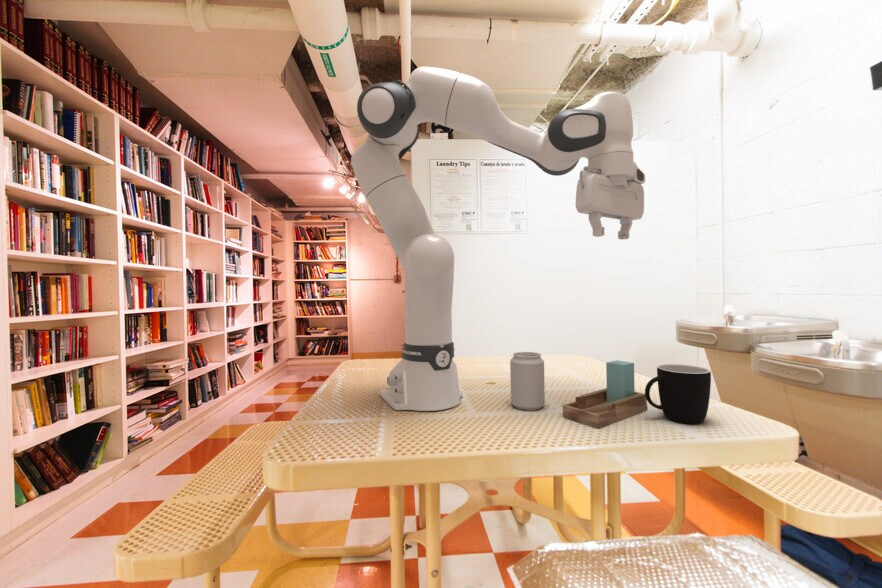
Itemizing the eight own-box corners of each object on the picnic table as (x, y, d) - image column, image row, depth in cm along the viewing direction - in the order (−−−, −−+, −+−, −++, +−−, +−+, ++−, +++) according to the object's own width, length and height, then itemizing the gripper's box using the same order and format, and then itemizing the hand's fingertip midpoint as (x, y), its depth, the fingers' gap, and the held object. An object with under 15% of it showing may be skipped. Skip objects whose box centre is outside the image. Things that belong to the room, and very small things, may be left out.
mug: (691, 411, 79) (690, 363, 79) (723, 426, 70) (722, 372, 70) (634, 412, 79) (633, 364, 79) (658, 427, 70) (658, 373, 70)
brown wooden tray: (562, 417, 76) (562, 400, 76) (612, 401, 87) (612, 386, 87) (598, 428, 70) (598, 410, 70) (647, 410, 80) (647, 393, 80)
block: (624, 407, 79) (623, 365, 79) (606, 403, 82) (606, 362, 82) (634, 404, 81) (634, 362, 81) (617, 400, 84) (616, 360, 84)
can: (548, 411, 80) (547, 355, 80) (513, 411, 81) (512, 356, 80) (540, 401, 88) (539, 350, 88) (508, 401, 88) (507, 350, 88)
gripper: (595, 159, 71) (596, 232, 71) (649, 176, 83) (650, 238, 83) (567, 168, 76) (568, 236, 76) (622, 183, 88) (623, 242, 88)
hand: (611, 237), depth 80 cm, fingers open, 8 cm apart
